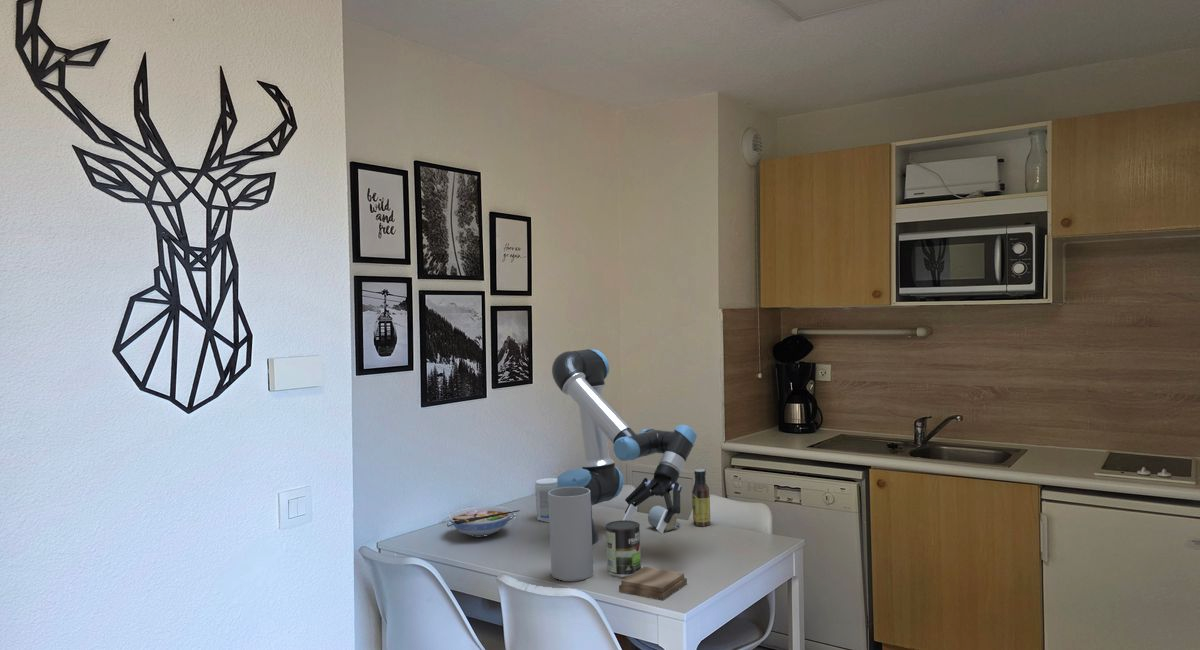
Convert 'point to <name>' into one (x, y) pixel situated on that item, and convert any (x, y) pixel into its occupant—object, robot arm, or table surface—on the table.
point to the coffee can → (623, 548)
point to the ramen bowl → (480, 519)
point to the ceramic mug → (656, 515)
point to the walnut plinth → (653, 582)
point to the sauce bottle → (701, 499)
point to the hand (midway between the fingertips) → (641, 528)
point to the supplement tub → (544, 497)
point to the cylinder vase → (570, 533)
